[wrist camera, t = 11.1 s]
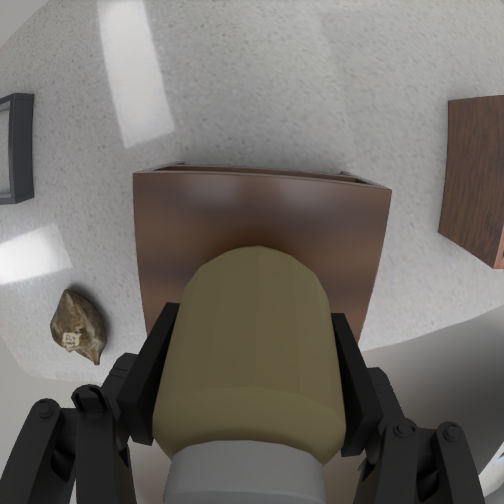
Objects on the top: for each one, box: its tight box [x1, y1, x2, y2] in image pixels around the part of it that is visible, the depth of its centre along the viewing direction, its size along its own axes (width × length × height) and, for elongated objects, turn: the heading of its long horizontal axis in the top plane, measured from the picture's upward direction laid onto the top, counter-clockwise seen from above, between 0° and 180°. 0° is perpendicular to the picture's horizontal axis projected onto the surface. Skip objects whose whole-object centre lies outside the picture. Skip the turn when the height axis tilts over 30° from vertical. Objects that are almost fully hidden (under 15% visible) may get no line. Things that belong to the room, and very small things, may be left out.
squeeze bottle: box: [152, 245, 346, 504], centre depth 11 cm, size 8×8×18 cm
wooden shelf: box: [133, 162, 392, 345], centre depth 24 cm, size 14×16×10 cm
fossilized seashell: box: [50, 289, 107, 365], centre depth 31 cm, size 8×7×10 cm
